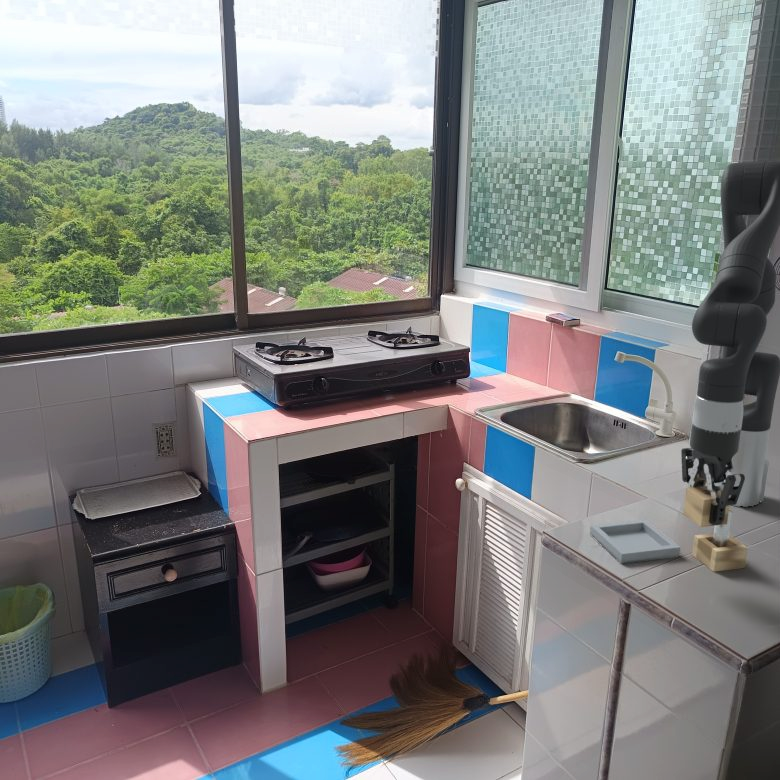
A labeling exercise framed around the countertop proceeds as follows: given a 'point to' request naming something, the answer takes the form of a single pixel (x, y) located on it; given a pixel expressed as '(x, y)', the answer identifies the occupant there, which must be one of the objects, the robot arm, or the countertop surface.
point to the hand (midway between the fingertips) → (705, 516)
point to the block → (700, 506)
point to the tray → (634, 541)
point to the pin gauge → (722, 533)
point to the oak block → (719, 553)
